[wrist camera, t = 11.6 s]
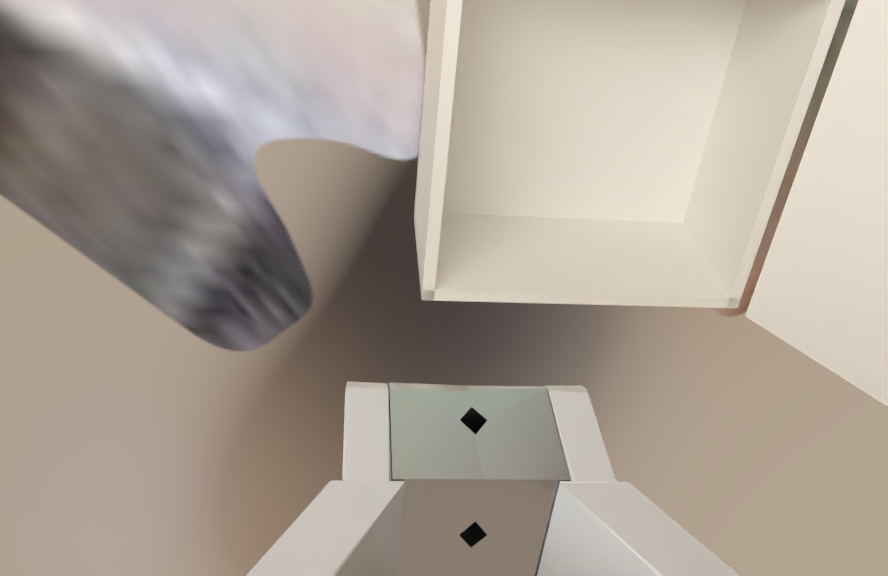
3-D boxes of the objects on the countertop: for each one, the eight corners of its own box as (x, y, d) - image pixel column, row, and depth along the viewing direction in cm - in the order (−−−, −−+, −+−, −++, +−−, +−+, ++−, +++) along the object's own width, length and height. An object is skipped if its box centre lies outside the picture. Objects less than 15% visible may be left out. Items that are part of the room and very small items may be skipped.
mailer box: (436, -90, 38) (451, -47, 31) (771, -64, 40) (851, -18, 33) (413, 217, 47) (421, 300, 40) (687, 227, 49) (737, 308, 42)
